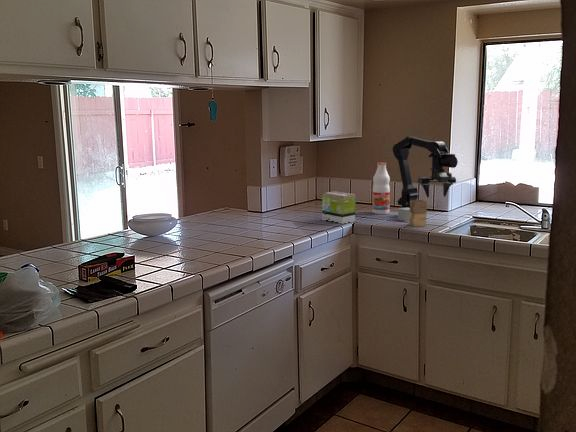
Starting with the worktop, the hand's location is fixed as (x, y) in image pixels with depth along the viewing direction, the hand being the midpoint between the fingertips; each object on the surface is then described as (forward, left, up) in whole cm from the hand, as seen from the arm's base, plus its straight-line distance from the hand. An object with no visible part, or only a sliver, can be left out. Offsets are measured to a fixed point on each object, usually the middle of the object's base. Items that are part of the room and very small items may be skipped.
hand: (436, 196), depth 297 cm
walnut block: (+7, -13, -7) cm, 16 cm away
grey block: (-7, -13, -13) cm, 19 cm away
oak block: (+7, -13, -13) cm, 19 cm away
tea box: (-13, -48, -13) cm, 51 cm away
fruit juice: (-30, -18, -13) cm, 37 cm away
